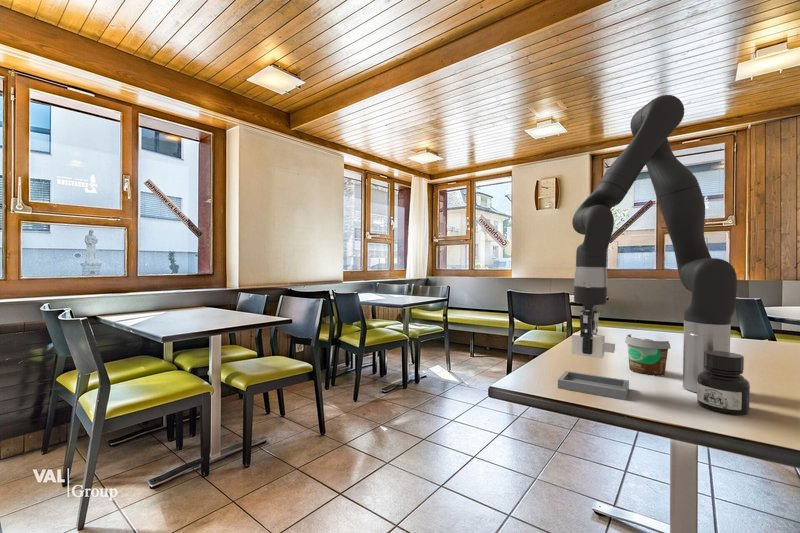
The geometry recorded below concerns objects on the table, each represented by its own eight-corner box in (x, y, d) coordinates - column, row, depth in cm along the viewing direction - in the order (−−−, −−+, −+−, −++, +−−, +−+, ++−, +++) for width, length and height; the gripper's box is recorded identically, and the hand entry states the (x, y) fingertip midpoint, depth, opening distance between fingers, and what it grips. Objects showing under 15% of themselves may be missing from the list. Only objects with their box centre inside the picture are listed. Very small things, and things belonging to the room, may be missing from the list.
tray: (628, 388, 98) (629, 380, 98) (625, 400, 90) (626, 391, 90) (565, 378, 107) (565, 370, 107) (557, 387, 99) (557, 379, 99)
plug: (574, 351, 103) (575, 332, 103) (614, 356, 98) (615, 337, 98) (571, 354, 100) (572, 334, 100) (613, 360, 94) (613, 339, 94)
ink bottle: (686, 403, 89) (687, 350, 88) (709, 398, 92) (710, 347, 92) (737, 419, 80) (738, 361, 80) (760, 413, 83) (761, 357, 83)
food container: (615, 368, 118) (615, 335, 118) (628, 365, 121) (628, 333, 121) (656, 379, 107) (657, 343, 107) (670, 376, 110) (670, 341, 110)
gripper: (579, 283, 107) (577, 345, 107) (569, 285, 95) (567, 355, 95) (610, 284, 103) (608, 349, 103) (603, 286, 91) (601, 360, 91)
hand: (588, 351), depth 99 cm, fingers closed on plug, 4 cm apart
